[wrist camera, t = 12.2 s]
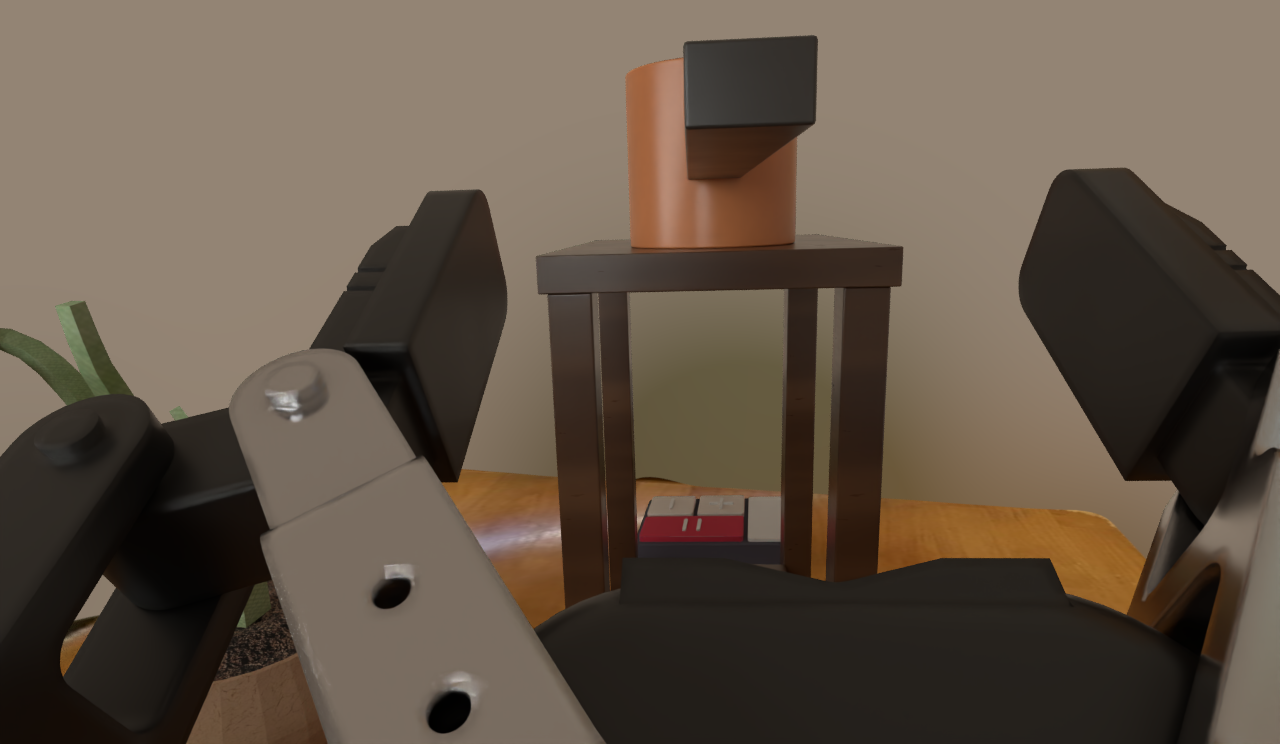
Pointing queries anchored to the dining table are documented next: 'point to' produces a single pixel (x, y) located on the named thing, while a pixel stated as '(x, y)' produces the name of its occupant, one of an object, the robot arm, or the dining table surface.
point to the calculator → (712, 528)
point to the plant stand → (854, 401)
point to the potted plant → (262, 643)
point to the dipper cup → (719, 142)
